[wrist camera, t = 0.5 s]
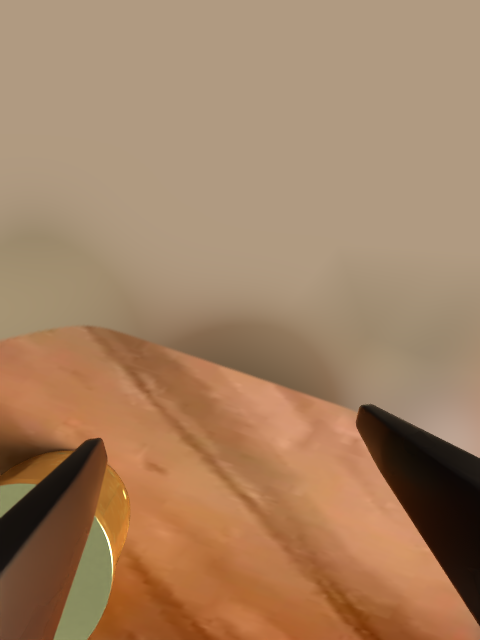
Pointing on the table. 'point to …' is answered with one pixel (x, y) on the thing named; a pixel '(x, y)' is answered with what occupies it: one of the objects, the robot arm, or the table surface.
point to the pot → (110, 500)
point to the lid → (91, 573)
